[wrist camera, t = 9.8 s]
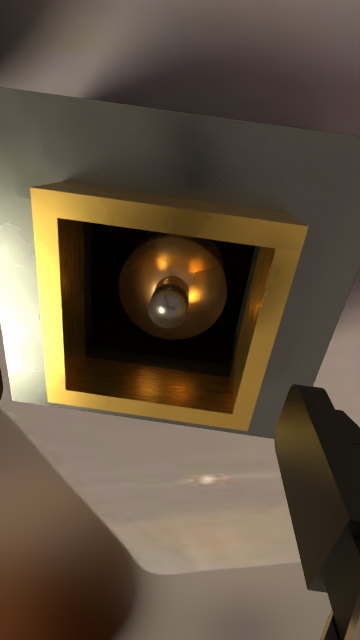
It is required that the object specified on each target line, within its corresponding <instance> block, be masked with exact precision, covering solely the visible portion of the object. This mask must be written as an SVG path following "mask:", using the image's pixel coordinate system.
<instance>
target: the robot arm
mask: <svg viewBox="0 0 360 640" xmlns="http://www.w3.org/2000/svg"><path fill="white" fill-rule="evenodd" d="M2 392H3V382H2V376H1V370H0V400H1V397H2ZM275 450H276V455H277V459H278V464H279V468H280V472H281V477H282V481H283V485H284V490H285V494H286V498H287V503H288V507H289V511H290V516H291V520H292V524H293V529H294V533H295V537H296V542H297V546H298V550H299V555H300V559H301V563H302V567H303V572H304V576H305V580H306V585H307V589H308V590H314V591H320V592H327V593H328V596H329V600H330V603H331V607H332V611H331V612H330V614H329V616H328V618H327V621H326V624H325V626H324V629H323V632H322V634H321V637H320V640H360V428H359V426H358V425H357V424H356V423H355V422H354V421H353V420H352V419H351V418H350V417H348V416H347V415H346V414H345V413H344V412H343V411H341V410H335V408H334V406H333V404H332V402H331V400H330V398H329V396H328V394H327V393H326V391H325V390H324V389H323V388H318V387H311V386H304V385H297V384H293V385H292V386H291V387H290V389H289V392H288V395H287V397H286V400H285V403H284V406H283V409H282V412H281V414H280V417H279V420H278V423H277V426H276V430H275Z"/></svg>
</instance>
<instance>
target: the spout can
mask: <svg viewBox="0 0 360 640" xmlns="http://www.w3.org/2000/svg"><path fill="white" fill-rule="evenodd" d="M119 296H120V300H121V303H122V306H123V308H124V310H125V312H126V313H127V315H128V316H129V318H130V319H131V320H132V321H133V322H134V323H135V324H136V325H137V326H138V327H139V328H141V329H142V330H144V331H145V332H147V333H149V334H151V335H153V336H156V337H160V338H164V339H172V340H176V339H186V338H190V337H193V336H196V335H198V334H200V333H202V332H204V331H205V330H207V329H208V328H209V327H210V326H212V325H213V324H214V323H215V321H216V320H217V319H218V318H219V316H220V314H221V313H222V310H223V308H224V305H225V302H226V296H227V285H226V279H225V272H224V265H223V258H222V251H221V245H220V241H219V240H212V239H204V238H197V237H190V236H183V235H176V234H169V233H162V232H155V231H149V232H148V233H147V235H146V236H145V237H144V239H143V240H142V241H141V242H140V244H139V245H138V246H137V248H136V249H135V250H134V251H133V253H132V254H131V255H130V257H129V258H128V259H127V261H126V262H125V264H124V266H123V268H122V271H121V274H120V278H119Z"/></svg>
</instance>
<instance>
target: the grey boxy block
mask: <svg viewBox="0 0 360 640" xmlns="http://www.w3.org/2000/svg"><path fill="white" fill-rule="evenodd" d="M92 223H98V224H105V225H112V226H119V227H126V228H134V229H141V230H148V231H155V232H162V233H169V234H176V235H183V236H190V237H197V238H204V239H212V240H219V241H226V242H233V243H240V244H247V245H254V246H255V250H254V254H253V258H252V263H251V267H250V271H249V276H248V280H247V284H246V289H245V293H244V297H243V302H242V306H241V310H240V315H239V319H238V323H237V328H236V332H235V335H233V334H226V333H220V332H213V331H206V330H205V331H204V332H202V333H200V334H198V335H196V336H193V337H190V338H186V339H176V340H172V339H164V338H160V337H156V336H153V335H151V334H149V333H147V332H145V331H144V330H142V329H141V328H139V327H138V326H137V325H136V324H135V323H134V322H133V321H132V320H129V319H122V318H115V317H108V316H101V315H94V314H92ZM359 267H360V136H353V135H346V134H338V133H331V132H324V131H316V130H309V129H302V128H295V127H287V126H280V125H273V124H265V123H258V122H251V121H244V120H236V119H229V118H222V117H214V116H207V115H200V114H193V113H185V112H178V111H171V110H163V109H156V108H149V107H142V106H134V105H127V104H120V103H112V102H105V101H98V100H91V99H83V98H76V97H69V96H61V95H54V94H47V93H40V92H32V91H25V90H18V89H10V88H3V87H0V321H1V327H2V334H3V341H4V348H5V355H6V361H7V368H8V375H9V382H10V388H11V395H12V400H13V401H19V402H26V403H33V404H40V405H47V406H53V407H60V408H67V409H74V410H81V411H88V412H94V413H101V414H108V415H115V416H122V417H129V418H135V419H142V420H149V421H156V422H163V423H169V424H176V425H183V426H190V427H197V428H204V429H210V430H217V431H224V432H231V433H238V434H245V435H251V436H258V437H265V438H272V439H275V430H276V426H277V423H278V420H279V417H280V414H281V412H282V409H283V406H284V403H285V400H286V397H287V395H288V392H289V389H290V387H291V386H292V385H293V384H297V385H304V386H311V387H313V384H314V382H315V379H316V376H317V374H318V371H319V369H320V366H321V364H322V361H323V359H324V356H325V353H326V351H327V348H328V346H329V343H330V341H331V338H332V336H333V333H334V330H335V328H336V325H337V323H338V320H339V318H340V315H341V313H342V310H343V307H344V305H345V302H346V300H347V297H348V295H349V292H350V290H351V287H352V284H353V282H354V279H355V277H356V274H357V272H358V269H359Z"/></svg>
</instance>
